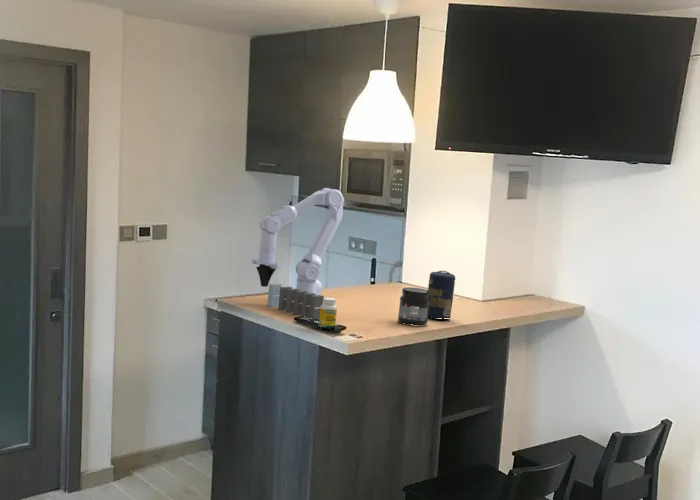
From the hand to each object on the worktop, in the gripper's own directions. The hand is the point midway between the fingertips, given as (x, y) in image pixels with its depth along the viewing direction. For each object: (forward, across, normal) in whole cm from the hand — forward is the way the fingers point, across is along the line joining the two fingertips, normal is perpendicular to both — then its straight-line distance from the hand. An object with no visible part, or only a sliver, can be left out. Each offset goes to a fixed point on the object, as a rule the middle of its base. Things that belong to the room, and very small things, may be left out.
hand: (264, 286), depth 277 cm
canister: (+6, +44, +47) cm, 65 cm away
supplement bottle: (+6, +40, -6) cm, 41 cm away
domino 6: (+6, +28, 0) cm, 29 cm away
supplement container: (+6, +46, +30) cm, 55 cm away
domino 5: (+6, +24, 0) cm, 25 cm away
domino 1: (+6, +6, 0) cm, 9 cm away
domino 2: (+6, +12, 0) cm, 13 cm away
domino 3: (+6, +16, 0) cm, 17 cm away
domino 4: (+6, +20, 0) cm, 21 cm away
